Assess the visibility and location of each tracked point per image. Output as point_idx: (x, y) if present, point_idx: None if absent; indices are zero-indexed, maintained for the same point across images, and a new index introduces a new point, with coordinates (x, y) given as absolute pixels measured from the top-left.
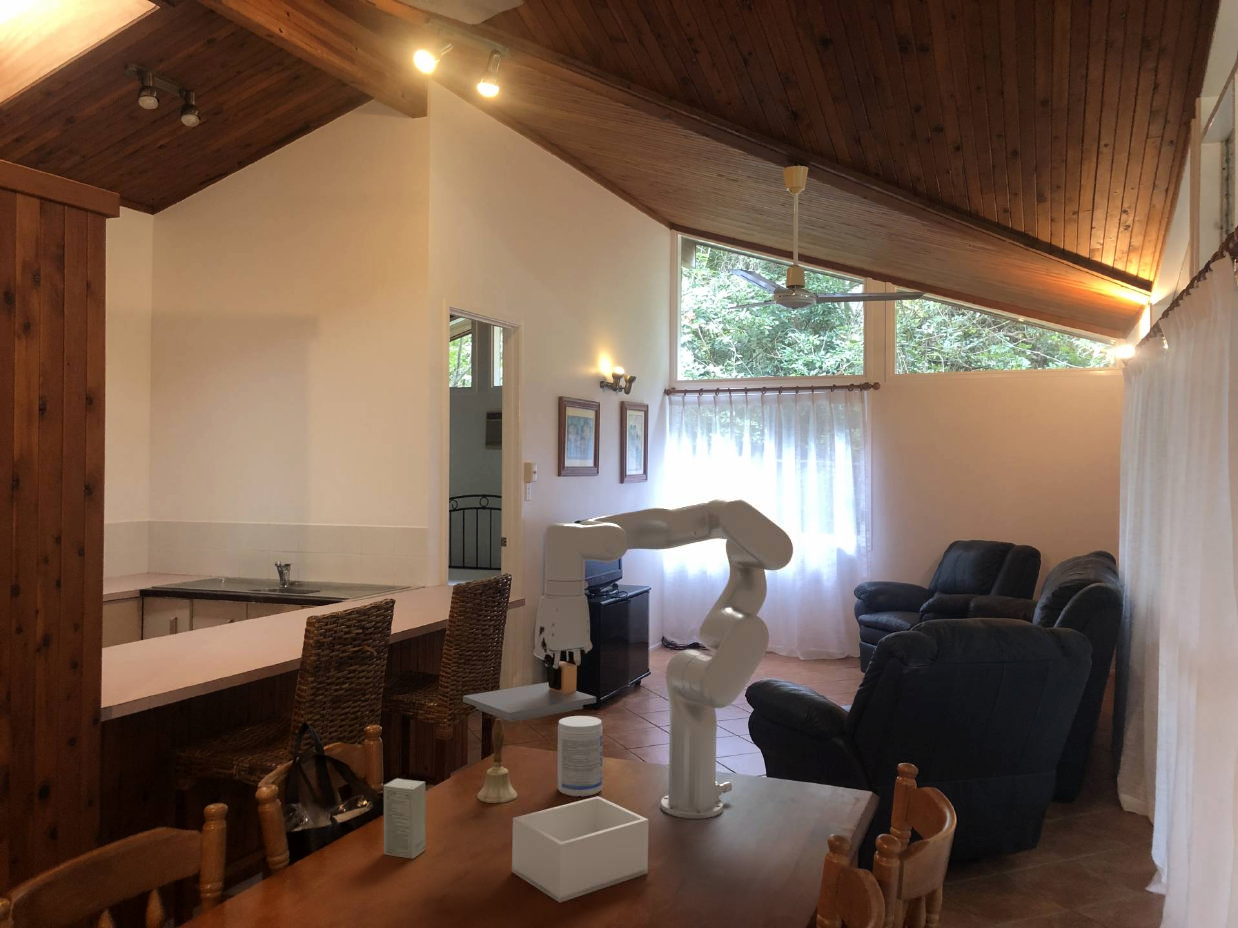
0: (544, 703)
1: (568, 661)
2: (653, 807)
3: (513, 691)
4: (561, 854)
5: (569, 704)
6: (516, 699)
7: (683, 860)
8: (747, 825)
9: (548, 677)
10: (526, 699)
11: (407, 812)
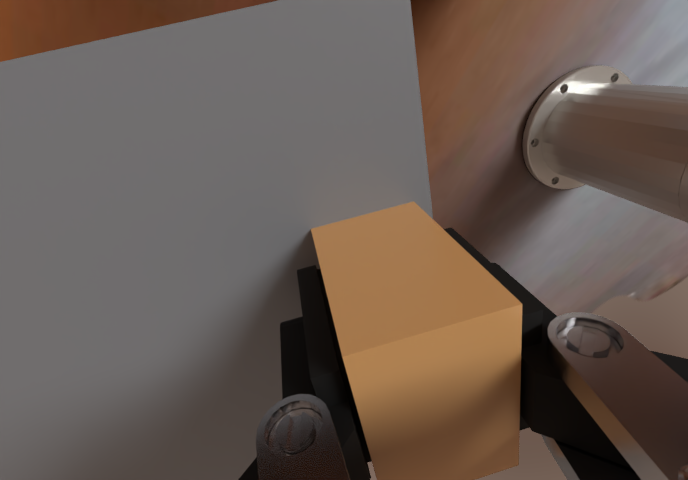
0: (180, 471)
1: (534, 383)
2: (525, 92)
3: (20, 189)
4: None
5: None
6: (27, 388)
7: None
8: (580, 232)
9: (281, 349)
10: (95, 399)
11: None
